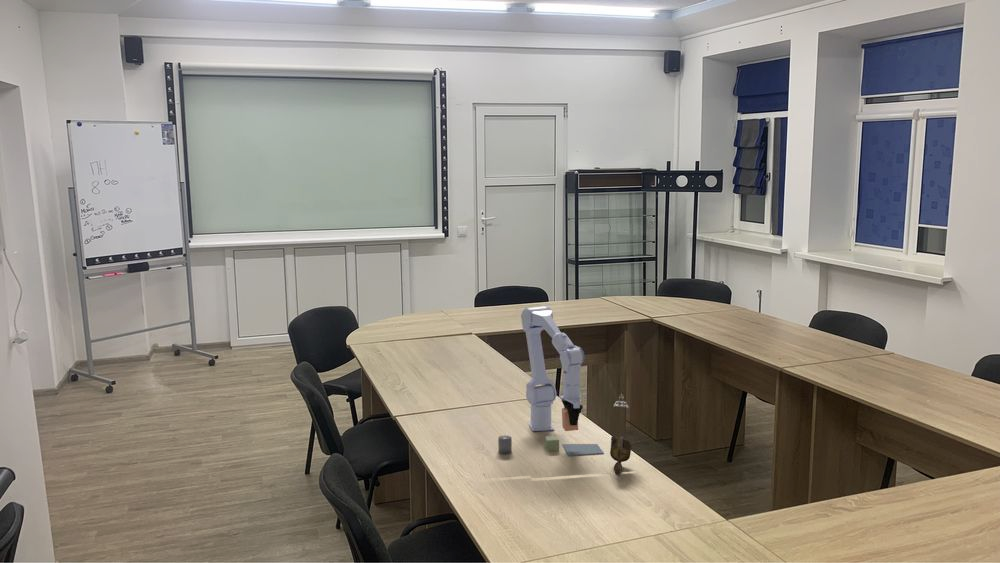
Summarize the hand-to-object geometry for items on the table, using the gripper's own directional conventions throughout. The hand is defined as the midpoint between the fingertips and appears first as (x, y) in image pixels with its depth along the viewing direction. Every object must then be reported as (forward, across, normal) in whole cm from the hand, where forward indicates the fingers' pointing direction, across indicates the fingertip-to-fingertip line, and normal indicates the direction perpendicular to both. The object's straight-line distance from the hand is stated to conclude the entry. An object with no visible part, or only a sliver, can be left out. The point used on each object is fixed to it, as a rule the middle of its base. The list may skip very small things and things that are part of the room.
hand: (571, 422), depth 247 cm
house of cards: (+10, -36, +29) cm, 47 cm away
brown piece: (+9, +21, +11) cm, 25 cm away
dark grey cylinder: (+9, 0, -23) cm, 25 cm away
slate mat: (+9, 0, +3) cm, 9 cm away
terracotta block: (+2, 0, -1) cm, 2 cm away
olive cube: (+9, 0, -7) cm, 11 cm away
